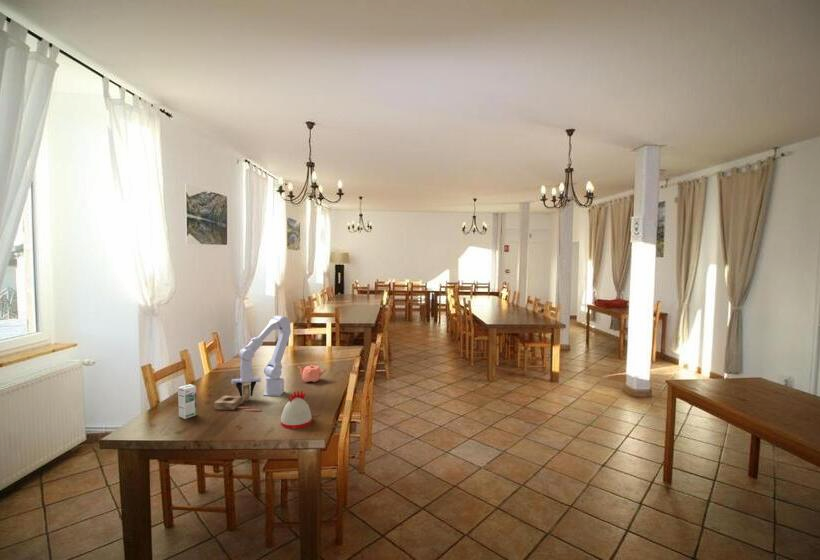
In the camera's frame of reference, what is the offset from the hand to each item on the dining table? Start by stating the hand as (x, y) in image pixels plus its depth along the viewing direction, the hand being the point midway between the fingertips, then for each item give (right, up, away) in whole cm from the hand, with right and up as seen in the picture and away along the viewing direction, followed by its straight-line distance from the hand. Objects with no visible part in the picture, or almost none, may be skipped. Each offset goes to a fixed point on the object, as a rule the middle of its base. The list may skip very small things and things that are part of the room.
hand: (246, 395), depth 209 cm
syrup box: (-19, -3, -22) cm, 29 cm away
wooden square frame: (-5, -3, -9) cm, 10 cm away
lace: (+5, -3, -13) cm, 14 cm away
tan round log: (0, -2, 0) cm, 2 cm away
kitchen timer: (+35, -5, -27) cm, 44 cm away
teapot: (+26, -1, +34) cm, 43 cm away
